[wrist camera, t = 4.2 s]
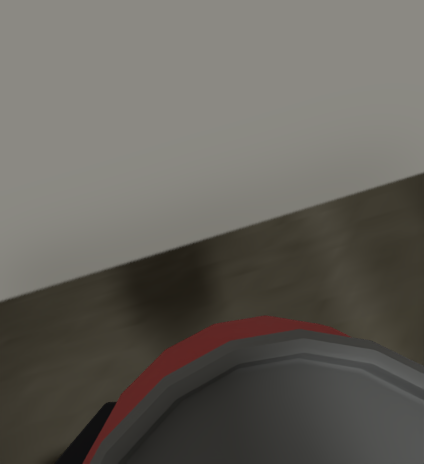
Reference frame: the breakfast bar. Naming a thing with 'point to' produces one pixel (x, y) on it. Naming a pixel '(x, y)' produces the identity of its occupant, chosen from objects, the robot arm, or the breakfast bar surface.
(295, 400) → the beer can
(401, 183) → the breakfast bar surface
